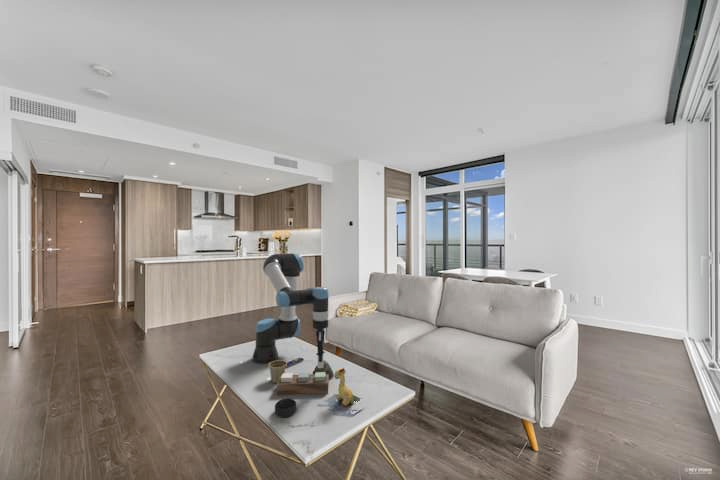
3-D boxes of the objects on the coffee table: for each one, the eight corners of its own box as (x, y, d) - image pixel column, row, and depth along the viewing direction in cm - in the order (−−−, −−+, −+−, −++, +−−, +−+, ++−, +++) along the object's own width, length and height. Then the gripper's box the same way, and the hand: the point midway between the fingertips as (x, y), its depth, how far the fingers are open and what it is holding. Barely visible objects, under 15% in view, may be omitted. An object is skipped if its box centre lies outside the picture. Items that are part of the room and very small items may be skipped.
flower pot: (282, 385, 154) (282, 368, 154) (264, 383, 156) (264, 366, 156) (289, 377, 164) (290, 361, 164) (273, 375, 165) (273, 359, 165)
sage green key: (315, 377, 153) (315, 372, 153) (325, 377, 154) (325, 372, 154) (314, 382, 148) (314, 376, 148) (325, 381, 149) (325, 376, 149)
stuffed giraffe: (341, 391, 149) (341, 359, 148) (371, 405, 138) (371, 370, 137) (317, 406, 136) (317, 371, 136) (347, 423, 125) (348, 385, 124)
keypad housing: (280, 385, 155) (280, 375, 155) (328, 383, 156) (328, 373, 156) (276, 395, 145) (276, 384, 145) (328, 393, 146) (328, 383, 146)
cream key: (282, 378, 152) (282, 373, 152) (293, 378, 153) (293, 373, 153) (281, 383, 147) (281, 377, 147) (291, 382, 148) (291, 377, 148)
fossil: (307, 375, 164) (314, 356, 168) (319, 379, 170) (325, 360, 173) (320, 381, 157) (327, 361, 160) (332, 384, 162) (338, 365, 166)
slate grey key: (299, 377, 153) (299, 372, 153) (309, 377, 153) (309, 372, 153) (297, 382, 148) (297, 377, 148) (308, 382, 148) (308, 377, 148)
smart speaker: (278, 406, 135) (278, 397, 135) (298, 406, 135) (298, 397, 135) (272, 418, 126) (272, 408, 126) (293, 418, 126) (293, 409, 126)
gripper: (313, 316, 157) (313, 362, 157) (311, 322, 144) (311, 373, 144) (328, 315, 158) (328, 362, 158) (327, 322, 145) (327, 372, 145)
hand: (320, 367), depth 151 cm, fingers closed
